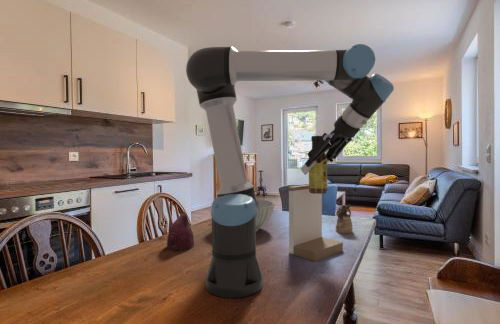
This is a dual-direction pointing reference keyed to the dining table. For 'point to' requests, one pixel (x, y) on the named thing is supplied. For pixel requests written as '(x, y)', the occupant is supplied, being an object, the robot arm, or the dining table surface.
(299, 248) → the upright board stand
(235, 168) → the robot arm
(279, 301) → the dining table surface
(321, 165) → the sauce bottle
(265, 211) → the decorative bowl
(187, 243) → the vegetable
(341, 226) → the figurine
